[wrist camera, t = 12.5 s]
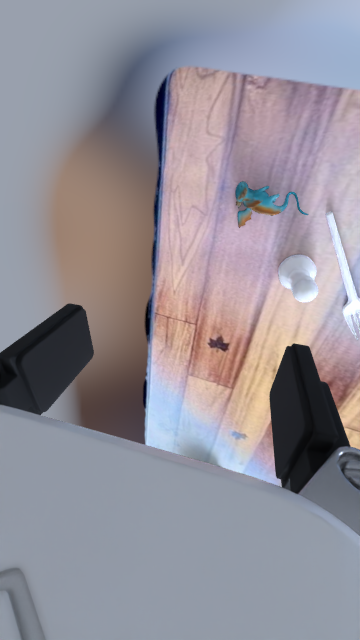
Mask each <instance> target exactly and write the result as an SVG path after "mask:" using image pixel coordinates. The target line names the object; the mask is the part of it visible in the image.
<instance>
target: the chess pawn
mask: <svg viewBox="0 0 360 640" xmlns="http://www.w3.org/2000/svg"><path fill="white" fill-rule="evenodd" d="M315 276H316V266H315V264H314V263H313V261H312V260H311V259H310V258H309V257H307V256H305V255H299V254H297V255H292V256H290V257H288V258H286V259H285V260H284V261H283V262H282V263H281V264H280V266H279V269H278V277H279V280H280V283H281V284H282V285H283V286H284V287H286V288H288V289H291V290H292V292H293V296H294V297H295V299H297V300H298V301H300V302H309V301H311V300H313V299H314V298H315V297H316V296H317V294H318V287H317V285H316V283H315V281H314V278H315Z"/></svg>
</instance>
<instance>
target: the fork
mask: <svg viewBox="0 0 360 640" xmlns="http://www.w3.org/2000/svg"><path fill="white" fill-rule="evenodd" d="M326 217H327V221H328V225H329V229H330V232H331V236H332V240H333V243H334V247H335V251H336V255H337V258H338V262H339V266H340V270H341V273H342V277H343V281H344V284H345V288H346V292H347V296H348V302H347V303H346V304H345V305H344V306H343V309H342V311H343V315H344V317H345V319H346V321H347V324H348V326H349V327H350V329H351V331H352V333H353V335H354V336H355V338H356V339H357V340H358V337H357V335H356V332H355V329H354V326H353V323H352V319H351V316H350V315H351V314H352V316H353V318H354V321H355V323H356V325H357V328H358V330H359V332H360V325H359V322H358V319H357V317H356V313H358V316H359V318H360V298H358V297H357V294H356V291H355V287H354V284H353V281H352V277H351V274H350V271H349V267H348V264H347V260H346V257H345V254H344V250H343V247H342V244H341V240H340V237H339V234H338V230H337V226H336V223H335V219H334V216H333V213H332V211H331V212H328V213H326Z"/></svg>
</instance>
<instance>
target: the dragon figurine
mask: <svg viewBox="0 0 360 640" xmlns="http://www.w3.org/2000/svg"><path fill="white" fill-rule="evenodd" d="M268 188H269V186H266V187H263V188H261V189H259V190H252V189H250V188H248V185H247V183H246V182H244V181H242V182H240V183H239V184H238V186H237V188H236V192H235V194H236V199H237V202H236V205H238V204H239V205H238V206H239V207H240V206H241V203H242V201H243V204H244V206H245V207H246V208H247V209H246V210H244V211H239V212H238V225H239V228H240V227H241V226H243V225H245V222H246V221H247V220H250V219H251V218H250V216H251V214H252V212H251V209H252V210H253V211H255V212H258V213H261V214H265V215H271V216H273V215H276V214H279V213H280V212H282V211H283V210H284V209H285V208H286V207H287V205H288V198H289V195H290V194H293V195H295V198H296V201H297V207H298V210H299V211H300V212H301V213H302V214H305V215H308V214H306V213H304V212H303V211H302V210H301V209H300V207H299V202H298V197H297V195H296V193H294V192H289V193H288V194H287V196H286V199H285V202H284V204H283V205H282V206H276V205H274V204H273V203H274V202H275V200H276V199H275V198H278V197H279V196H280V195H279V194H277V195H273V196H270V197H269V195H268V194H267V193H266V191H264V190H265V189H268ZM239 207H238V208H239Z"/></svg>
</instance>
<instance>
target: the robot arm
mask: <svg viewBox="0 0 360 640" xmlns="http://www.w3.org/2000/svg"><path fill="white" fill-rule="evenodd" d="M93 354H94V351H93V346H92V341H91V336H90V331H89V326H88V321H87V316H86V311H85V310H84V309H83V307H82V306H80V305H75V304H67V305H66V306H64V307H63V308H62V309H60V310H59V311H57V312H56V313H55V314H53V315H52V316H51V317H49V318H48V319H46V320H45V321H44V322H42V323H41V324H39V325H38V326H37V327H35V328H34V329H33V330H31V331H30V332H28V333H27V334H26V335H25V336H23V337H21V338H20V339H19V340H17V341H16V342H14V343H13V344H12V345H10V346H9V347H8V348H6V349H5V350H3V351H2V352H1V353H0V640H360V450H359V449H356V448H353V447H350V444H349V441H348V438H347V436H346V433H345V430H344V427H343V425H342V422H341V419H340V416H339V413H338V411H337V408H336V405H335V402H334V400H333V397H332V394H331V391H330V388H329V386H328V384H327V383H326V382H322V381H320V378H319V375H318V372H317V369H316V366H315V363H314V360H313V357H312V354H311V351H310V348H309V346H305V345H299V344H293V345H292V346H287V347H286V350H285V353H284V355H283V358H282V361H281V363H280V366H279V369H278V371H277V374H276V377H275V380H274V382H273V385H272V388H271V391H270V409H271V421H272V433H273V446H274V458H275V471H276V477H277V478H279V479H281V483H282V487H280V486H277V485H274V484H271V483H268V482H266V481H263V480H260V479H257V478H254V477H251V476H248V475H245V474H241V473H238V472H235V471H232V470H228V469H225V468H222V467H219V466H215V465H212V464H209V463H205V462H202V461H199V460H195V459H192V458H188V457H185V456H181V455H178V454H174V453H171V452H168V451H164V450H161V449H157V448H154V447H150V446H147V445H143V444H140V443H136V442H133V441H129V440H126V439H122V438H119V437H115V436H112V435H108V434H105V433H101V432H98V431H94V430H91V429H87V428H83V427H80V426H77V425H73V424H70V423H66V422H63V421H59V420H55V419H52V418H48V417H45V416H41V414H42V413H43V412H46V411H47V410H48V409H49V408H50V407H51V405H52V404H53V403H54V402H55V401H56V400H57V399H58V397H59V396H60V395H61V394H62V393H63V392H64V390H65V389H66V388H67V387H68V386H69V384H70V383H71V382H72V381H73V380H74V379H75V377H76V376H77V375H78V374H79V373H80V372H81V370H82V369H83V368H84V367H85V366H86V365H87V363H88V362H89V361H90V360H91V359H92V357H93Z"/></svg>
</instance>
